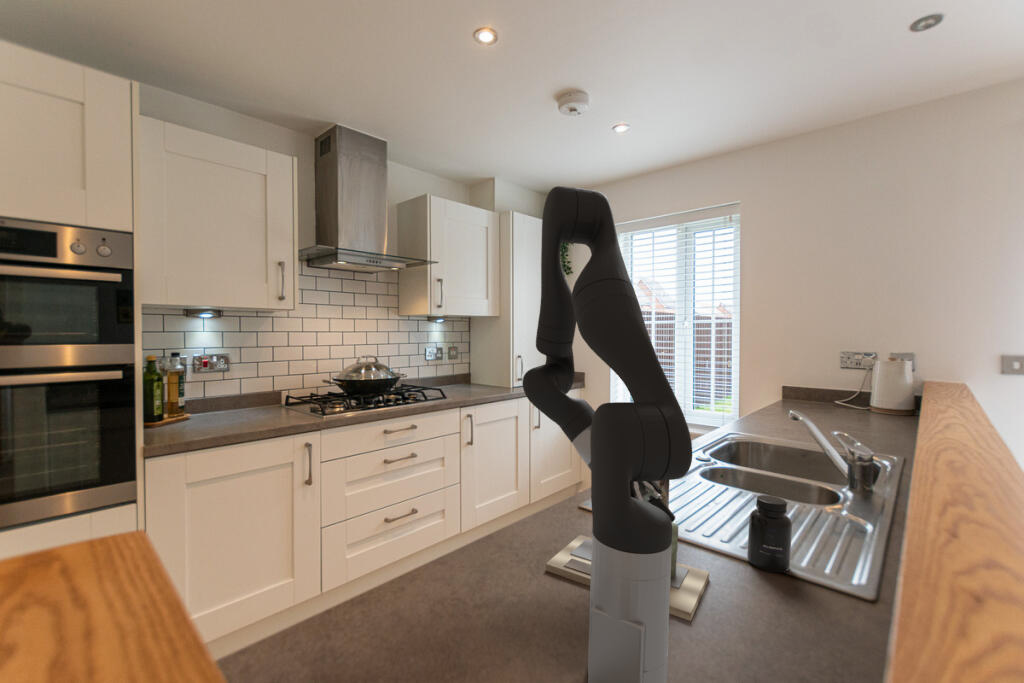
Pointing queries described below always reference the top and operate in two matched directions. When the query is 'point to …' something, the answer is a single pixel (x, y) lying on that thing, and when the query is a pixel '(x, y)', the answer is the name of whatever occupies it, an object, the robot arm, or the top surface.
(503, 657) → the top surface
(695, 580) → the board
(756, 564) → the supplement bottle
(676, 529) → the green cylinder
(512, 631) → the top surface
